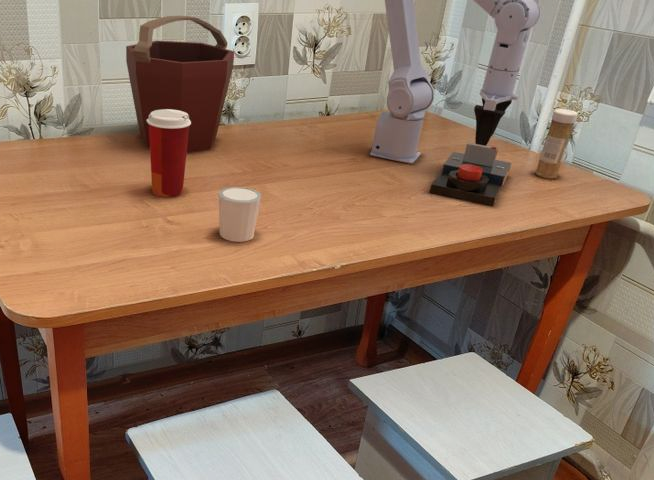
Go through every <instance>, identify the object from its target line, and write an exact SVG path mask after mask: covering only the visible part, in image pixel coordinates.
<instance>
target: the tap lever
mask: <svg viewBox="0 0 654 480" xmlns="http://www.w3.org/2000/svg"><path fill="white" fill-rule="evenodd" d="M498 151H499V146H497V145H486V146H484V145H478V144H476V143H475V142H469V141H468V142H467V143H466V145H465V149H464V153H463V154H464V157H463V162H469V163H474V164H479V165H484V166H489V167H493V165H494V162H495V160H497V159H496V158H497V155H498Z"/></svg>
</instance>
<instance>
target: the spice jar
mask: <svg viewBox="0 0 654 480" xmlns="http://www.w3.org/2000/svg"><path fill="white" fill-rule="evenodd" d="M578 116H579V114H578V112H577V111H575V110H571V109H567V108H566V109H565V108H557V109H554V110H553V113H552V116H551V120H550V121H551V122H550V125H549V128H548V131H547V134H546V137H545V140H544V143H543V146H542V149H541V153H540V156H539V160H538V163H537V166H536V170H535V171H534V174H535V175H536V176H538V177H540V178H544V179H550V180H551V179H556V178H558V176H559V174H558V173H559V170H560V167H561V164H562V162H563V160H564V157H565V153H566V151H567V147H568V143H569V141H570V138H571V134H572V132H573V128H574V125H575V123H576V122H577V119H578Z"/></svg>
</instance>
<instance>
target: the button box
mask: <svg viewBox="0 0 654 480" xmlns="http://www.w3.org/2000/svg"><path fill="white" fill-rule="evenodd" d="M457 174H458V170H455V171H451V172H450V173H449V175H448V174H443V173H442V172H440V173H439V174H438V175H437V176H436V178H435V179H434V180H433V181H432V183H431V184H430V189H429V194H432V195H437V196H442V197H447V198H451V199H456V200H461V201H465V202H469V203H473V204H479V205H484V206H489V207H494V205H495V204H496V201H497V199H498V198H499V195H500V192H501V191H500V189H501V185H497V184H492V183H488V181H489V178H488V177H487V176H486V175H483V174H482V176H481V179H480V181H469V180H464V179H461V178H459V177H457ZM501 190H502V189H501Z"/></svg>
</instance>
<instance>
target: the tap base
mask: <svg viewBox="0 0 654 480" xmlns="http://www.w3.org/2000/svg"><path fill="white" fill-rule="evenodd" d="M464 154H465V153H462V152H456V151H452V153H451V154H450V155H449V156H448V158H447V159H446V161H445V162H444V163H443V165H442V168H441V173H443V174H448V175H449V173H450V172H451V171H455V170H459V166H460V165H463V164H470V165H475V166H478V167H481V168H482V169H483V172H482V174H483V175H486V176H487V177H488V178H489V181H488V183H492V184H497V185H501V189H500V192H501V191H502V189H503V187H504V185H505V183H506V180H507V179H508V176H509V173H510V169H511V166H512V162H509V161H503V160H499V159H495V162H494V165H493V167H489V166H484V165H479V164H474V163H469V162H463V157H464Z"/></svg>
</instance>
